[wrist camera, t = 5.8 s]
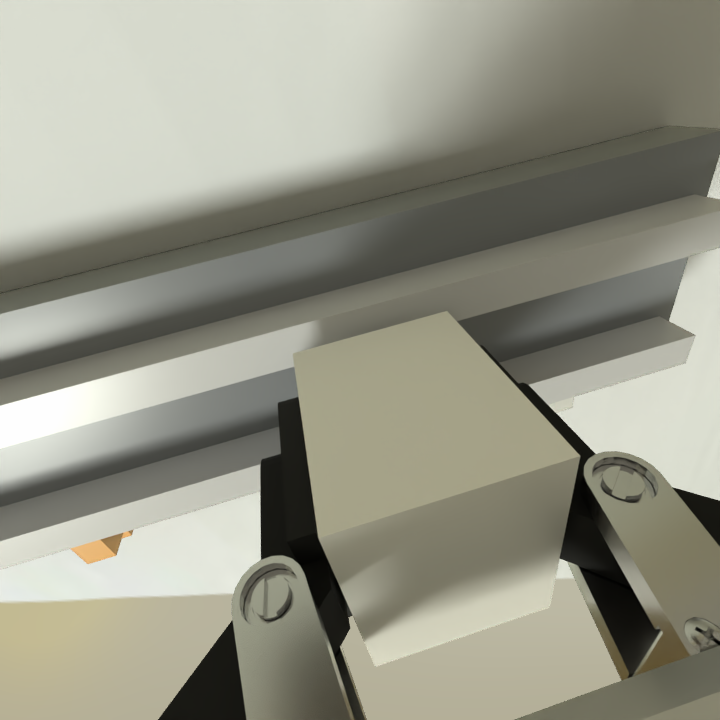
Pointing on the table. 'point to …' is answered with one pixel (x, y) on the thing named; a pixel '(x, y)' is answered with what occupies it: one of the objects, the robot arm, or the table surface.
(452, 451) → the fader tab
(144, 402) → the slider console
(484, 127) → the table surface
